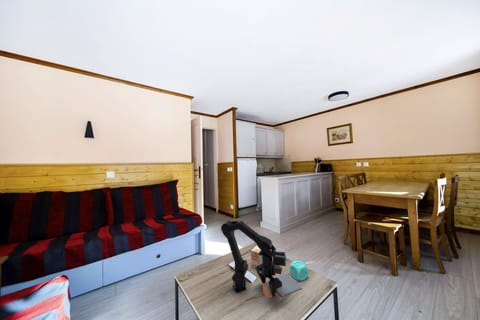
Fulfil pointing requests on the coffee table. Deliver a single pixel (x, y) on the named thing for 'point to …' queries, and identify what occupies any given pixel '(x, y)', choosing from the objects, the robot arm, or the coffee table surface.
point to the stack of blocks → (256, 257)
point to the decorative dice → (298, 270)
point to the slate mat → (287, 285)
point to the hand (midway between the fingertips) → (268, 291)
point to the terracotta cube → (267, 290)
